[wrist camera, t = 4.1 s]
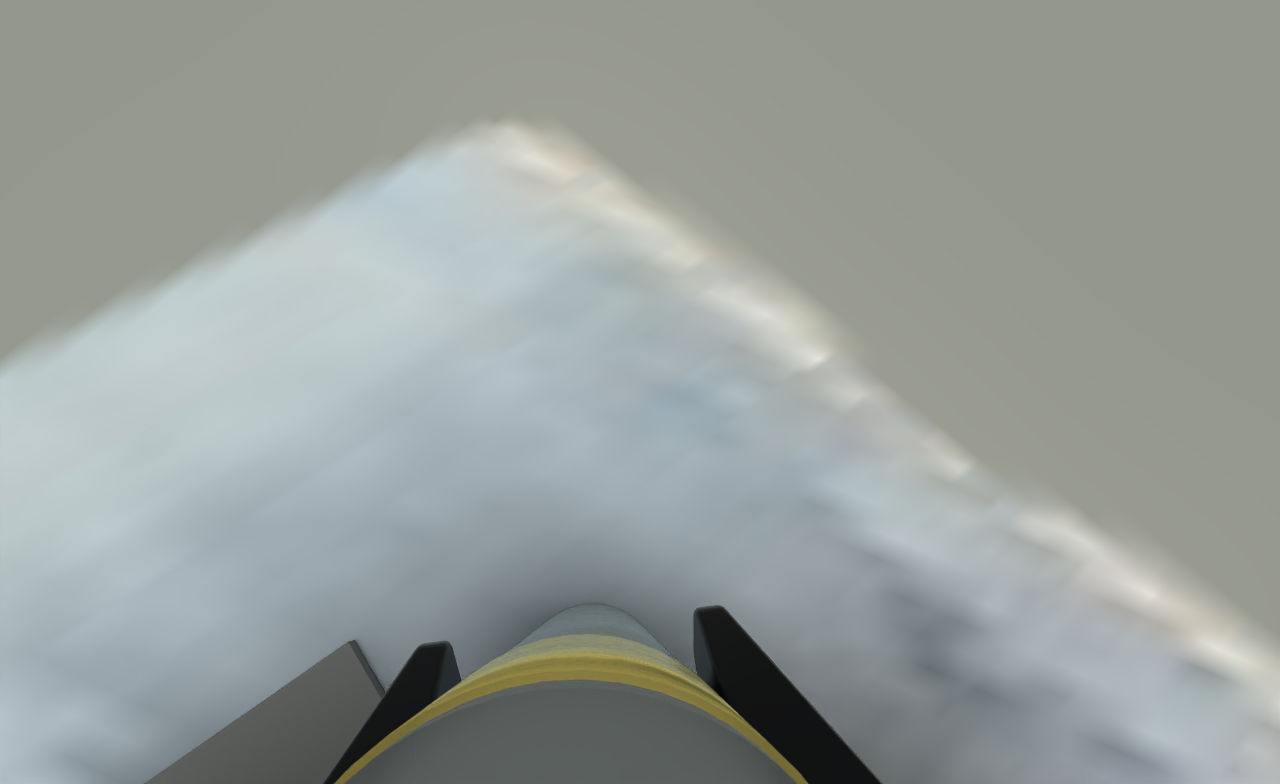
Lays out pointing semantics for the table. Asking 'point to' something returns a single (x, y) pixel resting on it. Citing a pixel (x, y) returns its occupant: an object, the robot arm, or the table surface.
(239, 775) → the mat
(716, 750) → the grey yellow-banded cylinder
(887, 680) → the table surface
